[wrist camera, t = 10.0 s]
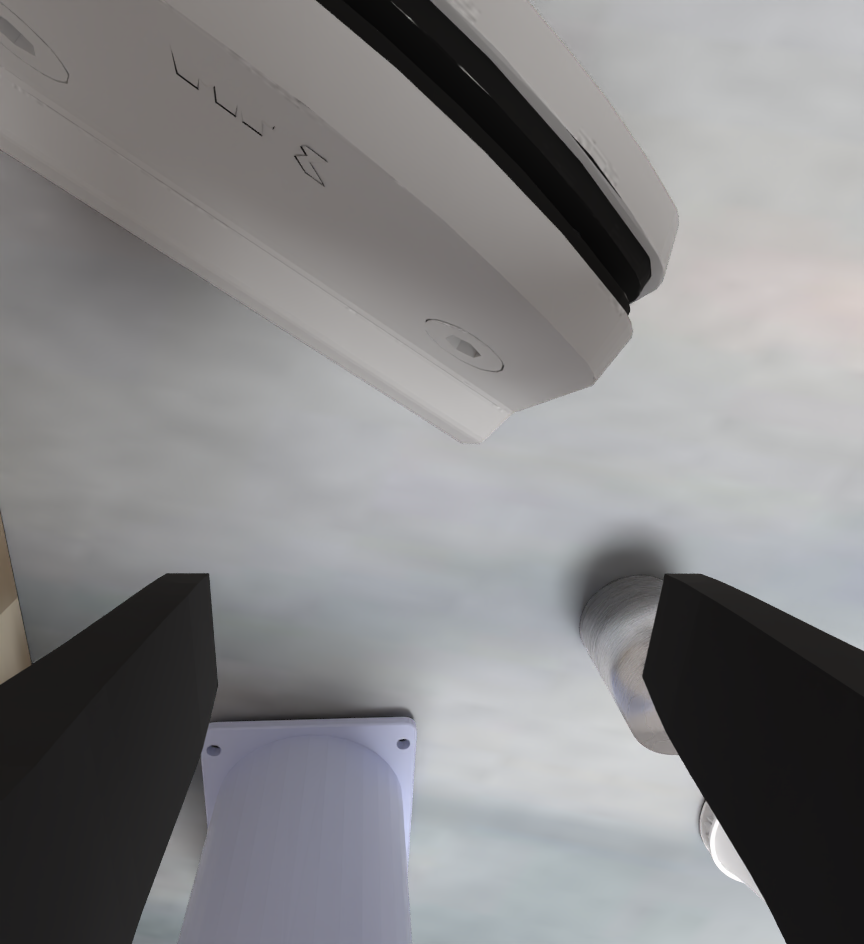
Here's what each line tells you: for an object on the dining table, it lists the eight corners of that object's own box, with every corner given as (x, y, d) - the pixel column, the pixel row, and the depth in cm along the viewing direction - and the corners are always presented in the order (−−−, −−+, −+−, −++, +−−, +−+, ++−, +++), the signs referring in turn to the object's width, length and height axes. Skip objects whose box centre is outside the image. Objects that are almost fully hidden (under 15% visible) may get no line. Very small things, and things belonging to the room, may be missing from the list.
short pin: (669, 663, 24) (735, 752, 19) (572, 665, 23) (618, 757, 19) (690, 574, 22) (766, 650, 18) (588, 574, 22) (641, 652, 18)
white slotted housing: (-64, 109, 15) (-631, -478, 5) (42, -39, 15) (-305, -823, 6) (471, 450, 20) (682, 464, 10) (540, 328, 20) (804, 231, 10)
